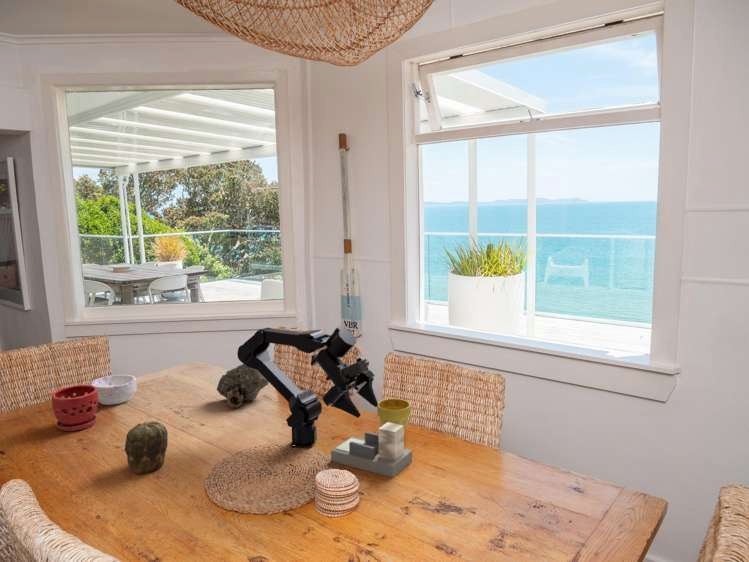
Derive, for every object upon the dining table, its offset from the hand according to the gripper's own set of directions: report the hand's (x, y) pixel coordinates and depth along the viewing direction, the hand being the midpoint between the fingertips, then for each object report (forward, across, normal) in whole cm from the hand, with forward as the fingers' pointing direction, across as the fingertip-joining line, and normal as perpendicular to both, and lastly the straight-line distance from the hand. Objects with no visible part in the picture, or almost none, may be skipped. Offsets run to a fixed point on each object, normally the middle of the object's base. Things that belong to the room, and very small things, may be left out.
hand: (368, 411), depth 148 cm
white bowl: (-68, -5, +84) cm, 108 cm away
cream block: (+13, 0, +3) cm, 13 cm away
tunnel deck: (+10, 0, +9) cm, 14 cm away
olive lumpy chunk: (-27, -33, +45) cm, 62 cm away
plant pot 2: (+8, +19, +12) cm, 24 cm away
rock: (-37, +16, +55) cm, 69 cm away
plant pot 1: (-59, -26, +76) cm, 100 cm away
